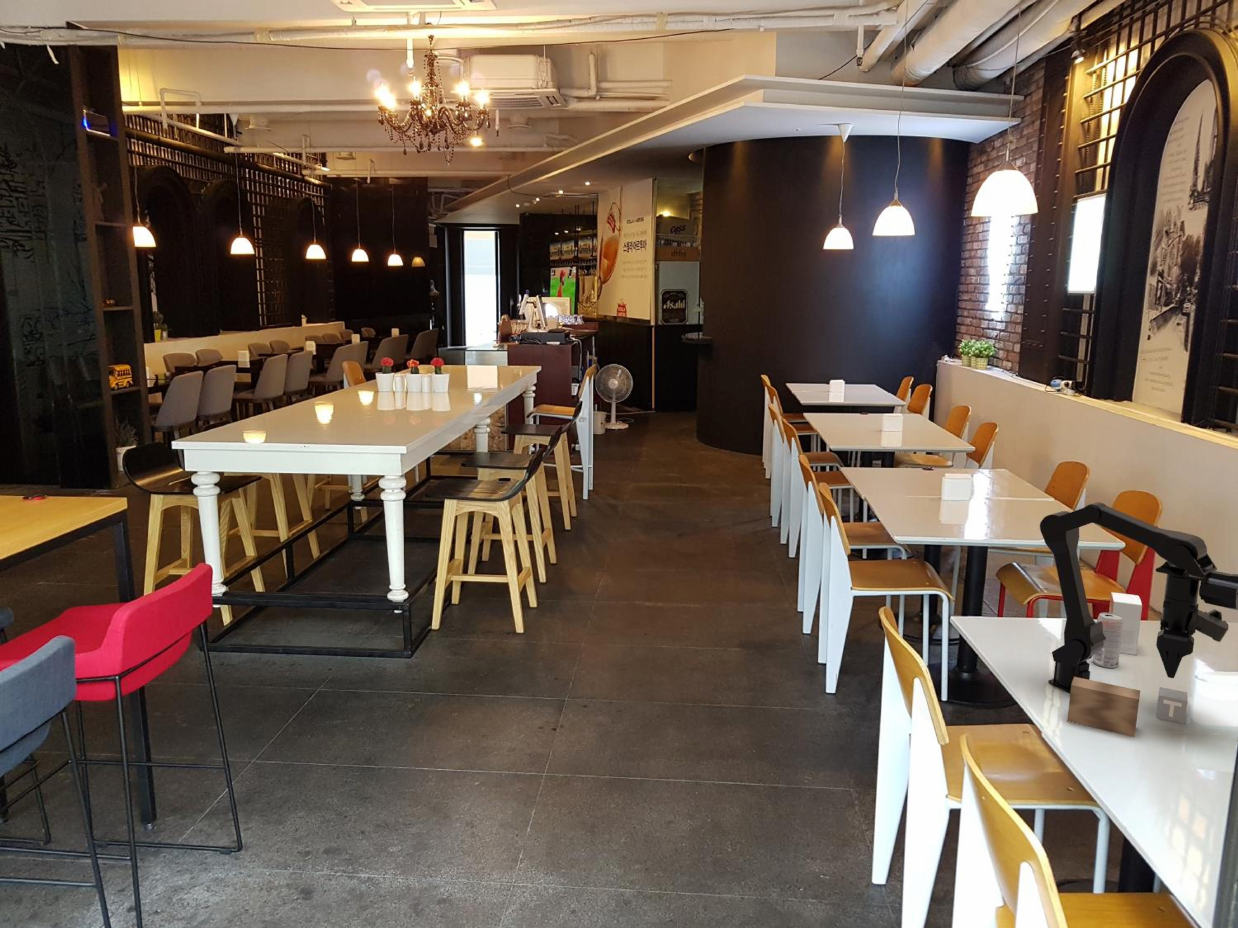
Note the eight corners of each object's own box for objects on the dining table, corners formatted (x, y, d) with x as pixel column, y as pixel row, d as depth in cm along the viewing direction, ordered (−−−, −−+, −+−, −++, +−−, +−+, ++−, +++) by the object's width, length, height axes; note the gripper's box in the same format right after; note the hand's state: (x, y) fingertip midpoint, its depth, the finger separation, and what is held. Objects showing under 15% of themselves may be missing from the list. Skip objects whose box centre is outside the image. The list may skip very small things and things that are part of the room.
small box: (1105, 640, 231) (1110, 591, 228) (1133, 644, 228) (1139, 595, 226) (1107, 651, 223) (1113, 600, 221) (1136, 655, 221) (1143, 604, 219)
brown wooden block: (1067, 721, 185) (1071, 684, 184) (1070, 712, 189) (1074, 676, 188) (1134, 737, 179) (1139, 699, 177) (1135, 727, 183) (1140, 690, 181)
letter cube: (1156, 708, 192) (1159, 686, 191) (1184, 714, 189) (1187, 692, 188) (1156, 718, 187) (1159, 695, 186) (1184, 724, 185) (1187, 701, 184)
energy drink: (1112, 660, 218) (1117, 612, 215) (1122, 669, 212) (1128, 620, 210) (1089, 659, 218) (1094, 611, 216) (1098, 667, 213) (1104, 619, 211)
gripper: (1228, 617, 171) (1218, 695, 174) (1228, 592, 187) (1218, 664, 189) (1160, 606, 177) (1151, 681, 180) (1165, 583, 193) (1157, 653, 195)
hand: (1171, 670), depth 186 cm, fingers open, 9 cm apart
